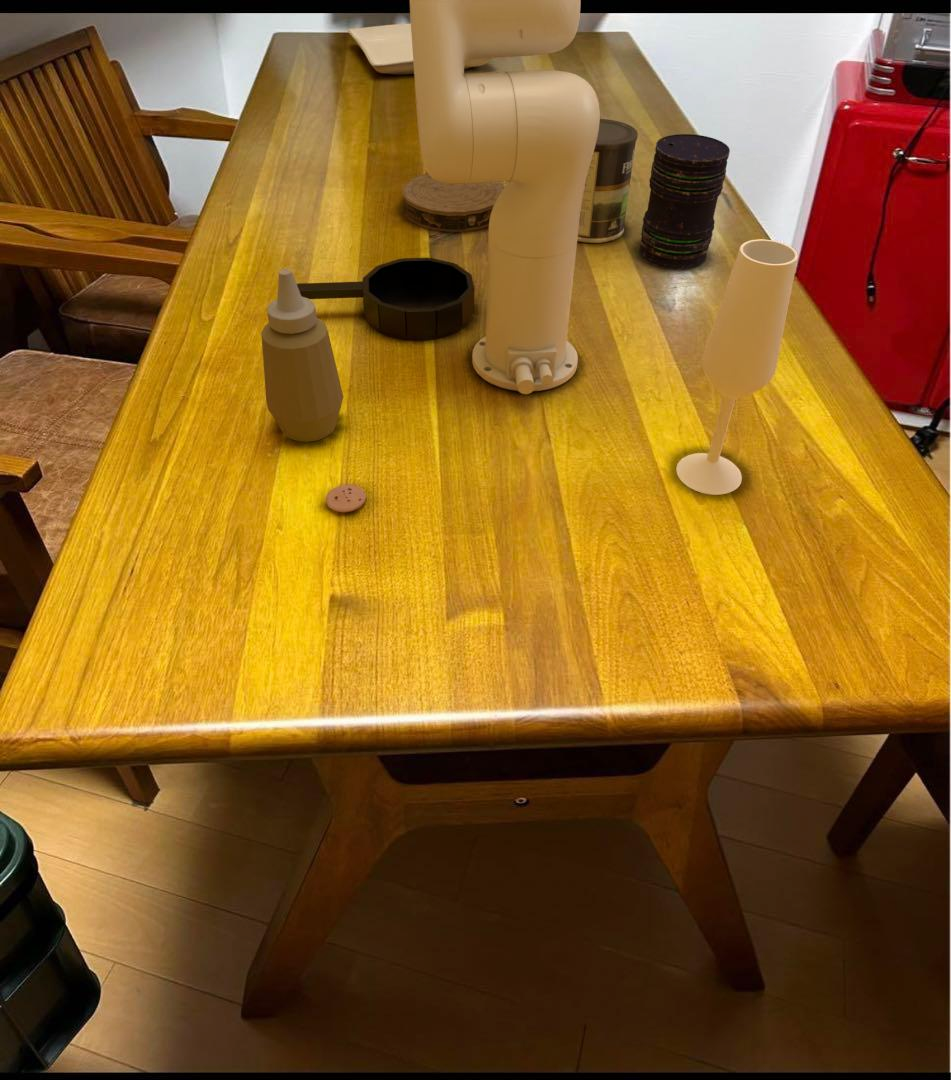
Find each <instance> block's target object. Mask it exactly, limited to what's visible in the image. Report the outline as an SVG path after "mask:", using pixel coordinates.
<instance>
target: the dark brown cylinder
mask: <svg viewBox="0 0 951 1080" xmlns="http://www.w3.org/2000/svg"><path fill="white" fill-rule="evenodd" d="M654 149H655V153H654V156H653V161H652V163H651V169H650V178H649V186H648V187H649V189H650V191H649V197H648V202H647V203H648V204H647V209H646V210H645V212H644V215H643V218H642V225H641V232H640V236H641V237H640V243H641V244H640V245H639V248H638V249H639V250H638V253H639V257H641V259H642V260H643V261H645V262H646V263H648V264H650V265H652V266H653V267H658V268H659V269H665V270H670V271H671V270H673V271H685V270H687V271H688V270H693V269H696V268H699V267H700V266H702V265H703V264H705V262H706V260H707V257H708V251H709V247H710V244H711V243H712V238H713V231H714V230H715V218H714V217H715V213H716V208H717V204H718V199H719V197H720V195H721V194H722V190H723V189H724V181H725V179H726V173H727V165H728V159H729V156H730V153H731V152H730V151H731V149H730V147H729V146H728V144H726V143H724V142H723V141H721V140H719V139H718V138H714V137H710V136H706V135H702V134H694V133H679V134H678V133H677V134H670V135H666V136H663V137H661V138H660V139H658V140H657V141H656V144H655V148H654Z"/></svg>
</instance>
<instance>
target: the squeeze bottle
mask: <svg viewBox="0 0 951 1080" xmlns="http://www.w3.org/2000/svg"><path fill="white" fill-rule="evenodd" d="M277 282H278V283H277V296H276V297H277V298H276V299H274V300H273V301H271V302H270V303H268V306H267V307H266V313H267V320H268V323H266V324H265V325H264V327H263V329H262V331H261V333H260V334H261V347H262V348H261V349H262V362H263V375H264V377H263V378H264V389H265V401H266V405H267V410H268V411H269V414H270V415H271V416H272V418H273V419H274V421H275V422H276V424H277V426H278V427H279V429H280V431H281V432H282V433H283V434H284V435H285V436H286V438H288V439H291V440H293V441H296V442H304V443H305V442H306V443H308V442H309V443H310V442H314V441H319V440H321V439H324V438H326V437H328V436H329V435H331V434H332V433H333V432H334V431H335V428H336V426H337V422H338V419H339V415H340V411H341V408H342V404H343V401H344V393H343V389H342V385H341V380H340V376H339V372H338V367H337V364H336V363H337V362H336V360H335V355H334V352H333V351H334V350H333V347H332V342H331V337H330V334H329V329H328V327H327V324H326V322H324V321H323V320H321V319H320V318H318V317H317V311H316V306H315V302H314V301H312V299H308V298H305V297H302V296H301V294H300V292H299V289H298V286H297V284H298V283H297V282H296V279H295V276H294V274H293V271H292V270H291V269H289V268H282V269H280V270H279V271H278V281H277Z"/></svg>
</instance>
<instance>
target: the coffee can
mask: <svg viewBox="0 0 951 1080" xmlns="http://www.w3.org/2000/svg"><path fill="white" fill-rule="evenodd" d="M638 133H639V132H638V131H637V129H636V128H635V127H634V126H632V125H630V124H627V123H626V122H622V121H618V120H615V119H607V118H606V119H605V118H600V122H599V131H598V136H597V141H596V145H595V149H594V152H593V156H592V160H591V163H590V167H589V170H588V174H587V178H586V183H585V188H584V192H583V198H582V204H581V212H580V220H579V229H578V238H577V242H580V243H586V244H587V243H588V244H601V243H608V242H613V241H615V240H617V239H619V238H621V236H623V234H624V232H625V222H626V215H627V207H628V200H629V193H630V185H631V184H630V183H631V179H632V172H633V165H634V158H635V157H634V156H635V149H636V142H637V140H638Z"/></svg>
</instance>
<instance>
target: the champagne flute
mask: <svg viewBox="0 0 951 1080" xmlns="http://www.w3.org/2000/svg"><path fill="white" fill-rule="evenodd" d="M798 258H799V253H798V252H797V250H796V249H794V248H793V247H792V246H790V245H789V244H787V243H785V242H781V241H777V240H772V239H764V238H762V239H761V238H760V239H759V238H758V239H757V238H756V239H751V240H747V241H745V242H743V243H742V244H741V245H740V247H739V249H738V252H737V255H736V259H735V260H734V264H733V267H732V269H731V272H730V275H729V278H728V281H727V284H726V286H725V289H724V293H723V296H722V298H721V301H720V304H719V307H718V310H717V312H716V316H715V318H714V321H713V324H712V327H711V330H710V333H709V336H708V338H707V341H706V344H705V347H704V350H703V353H702V356H701V364H700V365H701V369H702V372H703V374H704V376H705V378H706V380H707V382H708V383H709V384H710V385H711V387H713V389H714V390H715V391H716V392H717V393H718V394H719V395H720V396H722V400H721V403H720V407H719V411H718V414H717V419H716V422H715V425H714V430H713V434H712V437H711V441H710V445H709V449H708V453H706V452H697V453H691V454H689V455H686V456H684V457H682V458H681V459H680V460H679V461H678V463H677V465H676V469H675V470H676V471H675V472H676V475H677V478H678V479H679V480H680V481H681V483H682V484H684V485H685V486H686V487H688V488H689V489H691V490H693V491H695V492H699V493H701V494H705V495H713V496H717V495H725V494H730V493H731V492H734V491H735V490H737V489H738V488H739V487H740V485H741V484H742V481H743V480H742V479H743V476H742V472H741V470H740V469H739V467H738V466H737V465H736V464H735V463H733V462H732V461H731V460H729V459H728V458H725V457H724V456H721V453H722V449H723V446H724V443H725V439H726V436H727V431H728V429H729V424H730V421H731V416H732V414H733V410H734V407H735V403H736V400H738V399H742V398H744V397H747V396H750V395H753V394H755V393H757V392H759V391H761V390H762V389H763V388H765V387H766V386H767V385H768V384H769V383H770V382H771V381H772V380H773V379H774V377H775V374H776V371H777V368H778V367H777V366H778V361H779V356H780V352H781V346H782V341H783V335H784V330H785V325H786V320H787V315H788V310H789V306H790V300H791V296H792V295H791V294H792V289H793V284H794V280H795V274H796V269H797V264H798Z"/></svg>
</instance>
